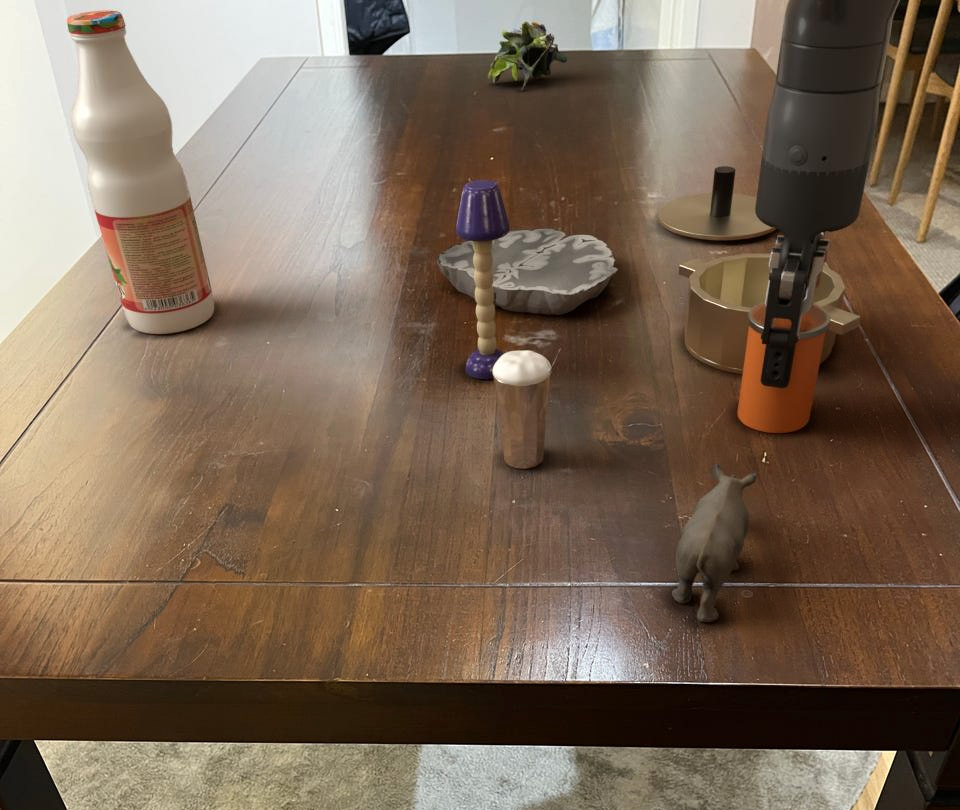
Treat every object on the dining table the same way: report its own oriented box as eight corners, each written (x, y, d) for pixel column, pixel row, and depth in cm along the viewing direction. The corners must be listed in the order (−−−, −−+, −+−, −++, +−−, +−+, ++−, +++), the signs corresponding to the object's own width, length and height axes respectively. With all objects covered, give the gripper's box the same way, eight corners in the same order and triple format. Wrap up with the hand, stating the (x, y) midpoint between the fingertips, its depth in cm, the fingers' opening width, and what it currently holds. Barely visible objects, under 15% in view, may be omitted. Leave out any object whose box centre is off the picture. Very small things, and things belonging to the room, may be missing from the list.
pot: (727, 293, 106) (734, 235, 102) (886, 352, 94) (901, 289, 90) (634, 333, 100) (638, 273, 96) (792, 401, 88) (803, 337, 84)
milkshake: (552, 478, 81) (552, 362, 74) (489, 469, 82) (483, 355, 76) (567, 449, 84) (568, 336, 77) (506, 441, 85) (502, 329, 79)
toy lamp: (458, 361, 97) (446, 180, 86) (504, 353, 98) (498, 172, 87) (473, 383, 94) (462, 197, 82) (520, 374, 94) (516, 188, 83)
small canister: (767, 390, 90) (782, 292, 84) (827, 416, 86) (847, 315, 80) (719, 415, 87) (731, 315, 81) (778, 443, 83) (796, 340, 77)
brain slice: (649, 273, 111) (651, 246, 109) (571, 333, 101) (571, 304, 99) (500, 243, 120) (500, 217, 118) (414, 295, 109) (412, 268, 107)
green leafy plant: (536, 113, 181) (576, 49, 174) (525, 117, 172) (568, 50, 165) (485, 72, 179) (524, 6, 173) (472, 74, 170) (512, 4, 164)
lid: (713, 193, 129) (718, 142, 125) (808, 222, 120) (817, 167, 116) (631, 223, 122) (634, 170, 118) (725, 255, 114) (732, 199, 109)
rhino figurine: (760, 515, 76) (771, 445, 72) (723, 628, 66) (734, 555, 62) (705, 505, 77) (714, 436, 73) (661, 616, 68) (668, 543, 64)
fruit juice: (181, 341, 103) (100, 28, 85) (109, 329, 106) (15, 24, 88) (233, 305, 110) (169, 6, 91) (163, 294, 113) (87, 3, 94)
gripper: (860, 186, 66) (816, 413, 77) (879, 125, 76) (838, 334, 87) (745, 178, 69) (718, 400, 80) (778, 120, 79) (750, 324, 90)
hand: (781, 365), depth 83 cm, fingers closed on small canister, 6 cm apart
